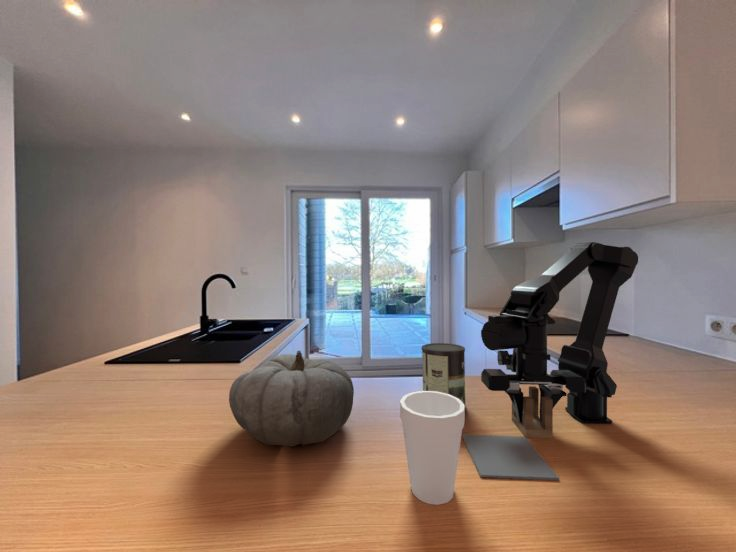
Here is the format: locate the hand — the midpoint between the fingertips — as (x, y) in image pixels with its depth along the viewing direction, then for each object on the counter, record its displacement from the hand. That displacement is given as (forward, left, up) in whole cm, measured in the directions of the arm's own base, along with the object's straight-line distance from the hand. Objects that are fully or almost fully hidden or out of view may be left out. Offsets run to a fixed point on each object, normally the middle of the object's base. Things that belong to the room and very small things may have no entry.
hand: (530, 421), depth 63 cm
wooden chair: (0, 0, -2) cm, 2 cm away
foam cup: (+23, +19, -2) cm, 30 cm away
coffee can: (+16, -10, -2) cm, 19 cm away
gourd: (+49, +3, -2) cm, 49 cm away
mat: (+9, +10, -2) cm, 14 cm away
